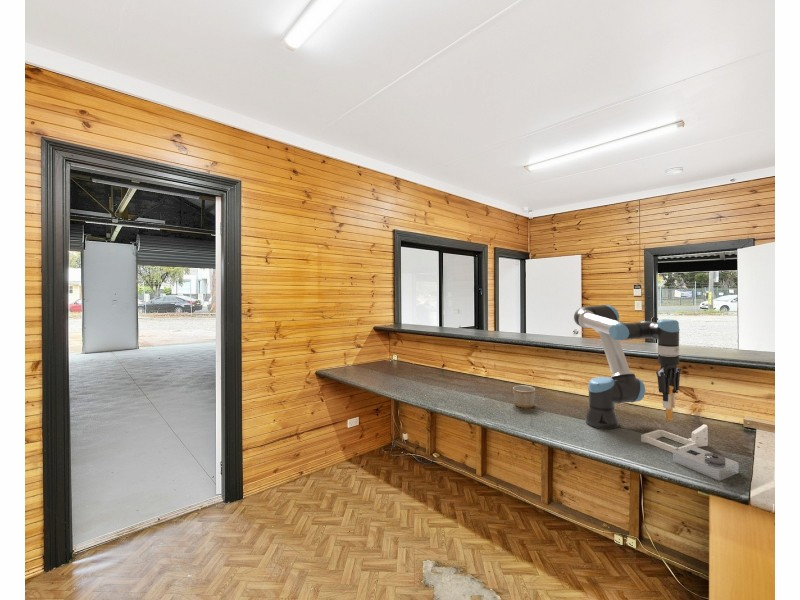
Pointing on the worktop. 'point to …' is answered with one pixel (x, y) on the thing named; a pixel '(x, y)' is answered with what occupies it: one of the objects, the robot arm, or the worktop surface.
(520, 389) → the planter
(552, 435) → the worktop surface
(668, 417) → the lock pin
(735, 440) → the worktop surface
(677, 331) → the robot arm
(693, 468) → the block
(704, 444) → the white wedge bracket
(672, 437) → the tray
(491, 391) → the worktop surface
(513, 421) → the worktop surface
